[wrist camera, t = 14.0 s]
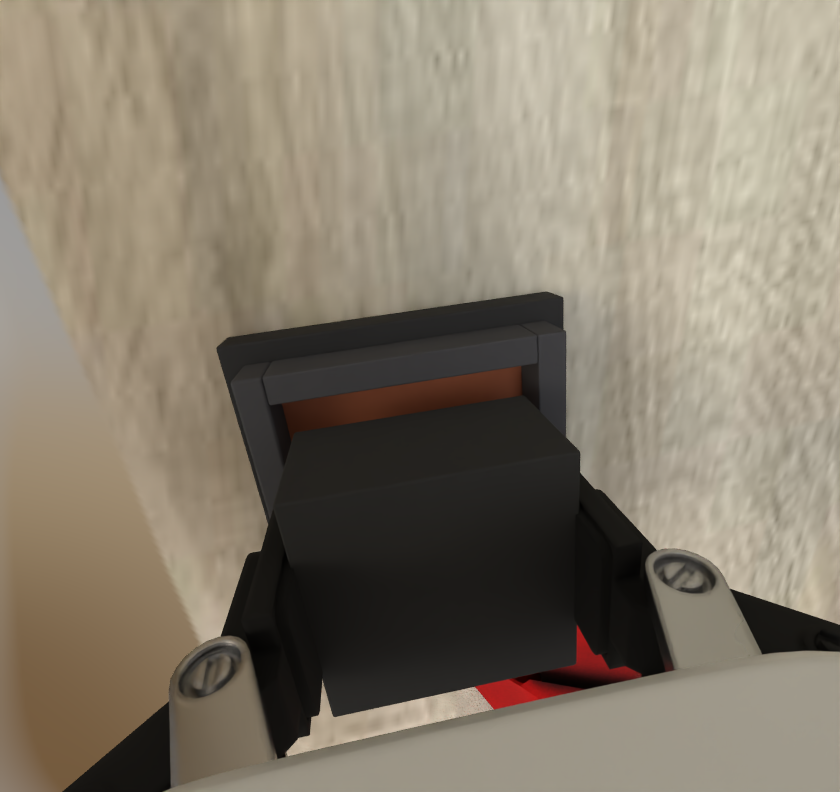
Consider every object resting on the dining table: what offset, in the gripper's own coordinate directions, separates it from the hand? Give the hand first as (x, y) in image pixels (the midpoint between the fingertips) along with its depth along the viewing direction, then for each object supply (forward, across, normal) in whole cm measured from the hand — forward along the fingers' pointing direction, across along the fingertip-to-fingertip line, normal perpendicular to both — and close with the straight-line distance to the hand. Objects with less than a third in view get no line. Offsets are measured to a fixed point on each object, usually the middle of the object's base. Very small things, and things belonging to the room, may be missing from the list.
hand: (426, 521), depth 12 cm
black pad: (+1, 0, 0) cm, 1 cm away
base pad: (+4, 0, 0) cm, 4 cm away
